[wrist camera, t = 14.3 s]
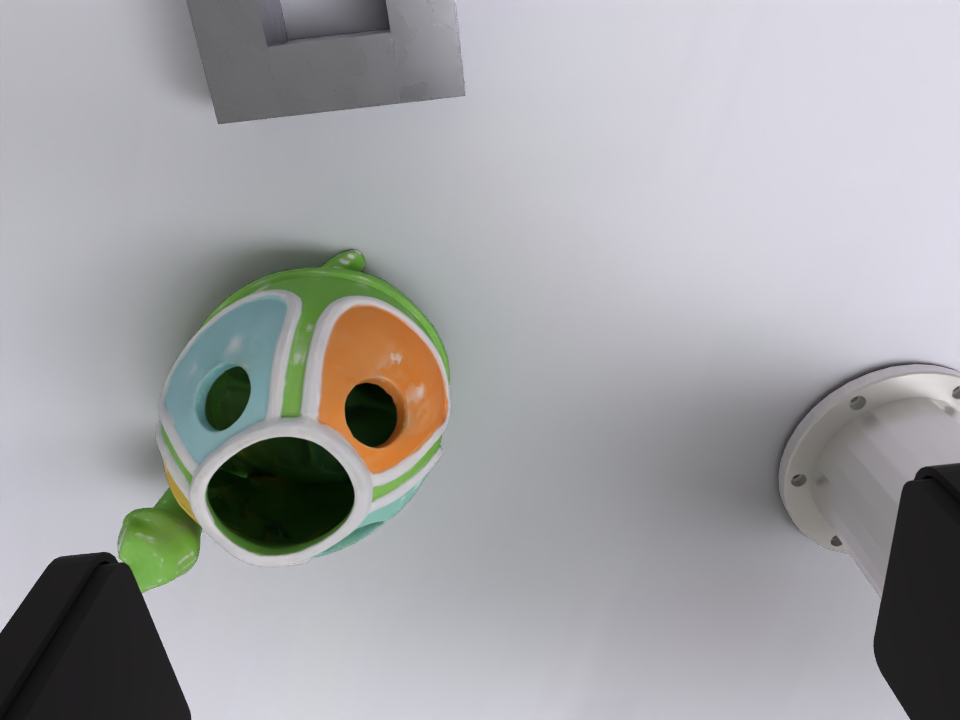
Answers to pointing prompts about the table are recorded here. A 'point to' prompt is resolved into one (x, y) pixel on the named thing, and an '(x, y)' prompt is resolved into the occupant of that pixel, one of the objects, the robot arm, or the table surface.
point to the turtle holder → (293, 422)
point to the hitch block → (324, 60)
